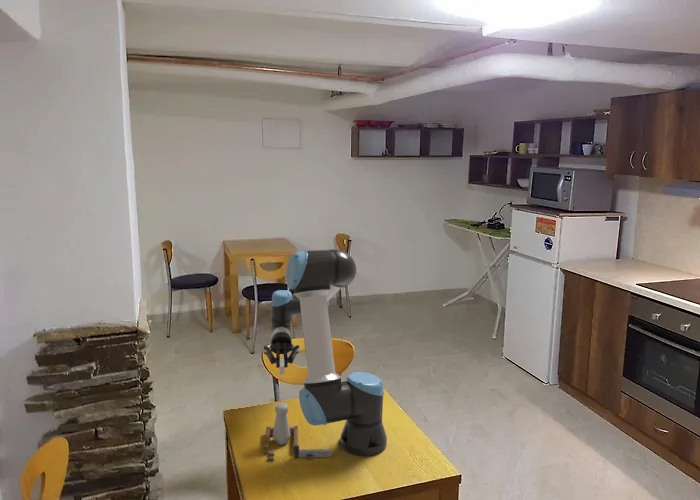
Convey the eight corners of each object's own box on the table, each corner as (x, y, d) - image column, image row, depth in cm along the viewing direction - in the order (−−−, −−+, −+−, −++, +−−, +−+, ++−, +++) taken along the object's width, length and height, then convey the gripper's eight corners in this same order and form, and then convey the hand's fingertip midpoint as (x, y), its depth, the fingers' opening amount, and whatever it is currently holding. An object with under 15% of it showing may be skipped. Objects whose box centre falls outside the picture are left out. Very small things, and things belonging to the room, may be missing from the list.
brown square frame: (312, 432, 183) (312, 425, 183) (312, 459, 168) (313, 452, 167) (266, 433, 182) (266, 426, 182) (263, 461, 167) (263, 453, 166)
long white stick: (330, 454, 171) (331, 444, 170) (331, 456, 169) (331, 446, 169) (294, 455, 170) (294, 445, 169) (294, 457, 168) (294, 447, 168)
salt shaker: (287, 447, 174) (287, 410, 172) (270, 445, 175) (270, 408, 173) (292, 438, 180) (292, 401, 177) (276, 435, 181) (276, 399, 178)
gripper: (298, 349, 203) (301, 380, 180) (263, 350, 201) (262, 381, 179) (299, 330, 201) (302, 359, 179) (263, 331, 199) (261, 360, 177)
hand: (282, 370), depth 179 cm, fingers closed
